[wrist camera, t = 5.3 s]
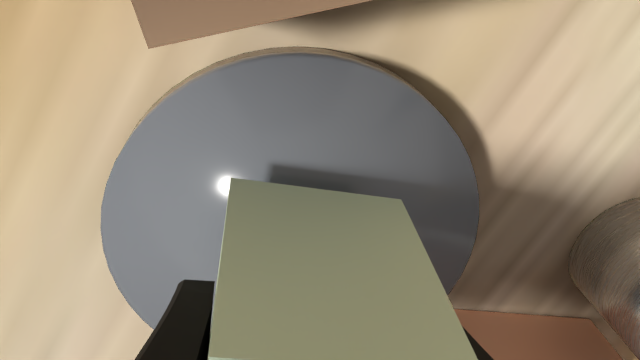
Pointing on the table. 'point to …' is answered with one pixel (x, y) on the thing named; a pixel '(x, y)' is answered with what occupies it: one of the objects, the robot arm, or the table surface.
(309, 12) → the walnut block
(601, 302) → the grey tin
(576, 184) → the table surface
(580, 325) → the terracotta block
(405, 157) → the coaster
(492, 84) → the table surface
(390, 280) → the sage block
